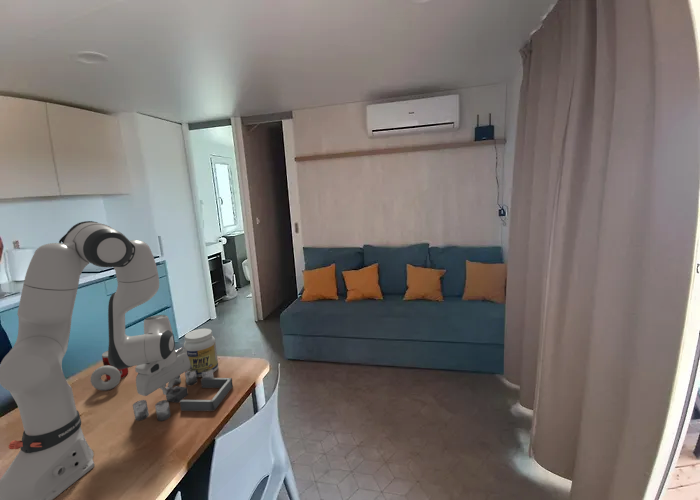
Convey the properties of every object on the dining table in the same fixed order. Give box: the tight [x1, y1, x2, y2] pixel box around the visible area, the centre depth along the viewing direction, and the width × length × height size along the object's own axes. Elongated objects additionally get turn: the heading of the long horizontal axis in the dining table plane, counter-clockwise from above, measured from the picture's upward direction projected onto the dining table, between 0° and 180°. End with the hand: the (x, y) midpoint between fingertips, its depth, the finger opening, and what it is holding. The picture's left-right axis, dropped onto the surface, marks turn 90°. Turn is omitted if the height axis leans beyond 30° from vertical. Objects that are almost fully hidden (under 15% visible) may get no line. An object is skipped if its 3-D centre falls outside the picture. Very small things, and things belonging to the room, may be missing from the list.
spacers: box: [132, 368, 215, 422], centre depth 128 cm, size 25×18×5 cm
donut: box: [90, 365, 122, 392], centre depth 137 cm, size 10×4×10 cm, turn 108°
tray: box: [179, 377, 234, 412], centre depth 128 cm, size 15×12×4 cm
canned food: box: [101, 350, 129, 381], centre depth 147 cm, size 8×8×11 cm
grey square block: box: [165, 385, 189, 404], centre depth 129 cm, size 5×5×3 cm
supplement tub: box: [183, 328, 219, 378], centre depth 146 cm, size 12×12×17 cm
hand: (168, 392), depth 129 cm, fingers closed
